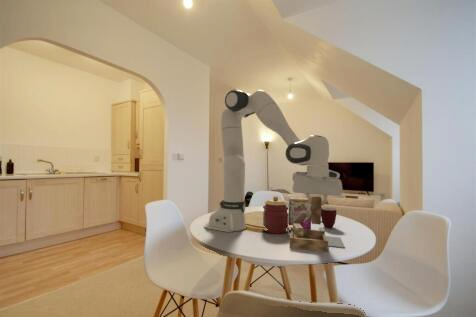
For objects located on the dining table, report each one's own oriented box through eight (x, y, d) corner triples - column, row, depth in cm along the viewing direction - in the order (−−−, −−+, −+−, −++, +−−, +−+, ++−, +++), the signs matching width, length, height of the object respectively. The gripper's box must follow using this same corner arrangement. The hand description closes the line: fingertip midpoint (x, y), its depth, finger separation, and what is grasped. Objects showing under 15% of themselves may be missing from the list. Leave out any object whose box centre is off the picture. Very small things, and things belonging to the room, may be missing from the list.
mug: (320, 229, 119) (321, 210, 119) (313, 225, 127) (313, 207, 127) (339, 229, 120) (339, 210, 121) (331, 225, 128) (331, 207, 129)
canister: (263, 233, 110) (263, 197, 111) (262, 226, 123) (262, 194, 124) (290, 234, 110) (290, 198, 110) (286, 227, 123) (286, 194, 123)
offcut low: (293, 245, 96) (293, 236, 96) (293, 239, 104) (294, 230, 104) (301, 246, 95) (301, 237, 95) (300, 239, 103) (300, 230, 104)
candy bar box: (289, 230, 116) (289, 198, 116) (288, 228, 121) (288, 197, 121) (311, 231, 115) (311, 199, 115) (309, 229, 120) (309, 198, 120)
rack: (289, 247, 93) (289, 237, 93) (291, 236, 107) (291, 227, 108) (327, 251, 89) (328, 241, 89) (324, 239, 103) (324, 230, 103)
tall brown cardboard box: (311, 223, 93) (312, 198, 93) (310, 218, 103) (311, 195, 103) (320, 224, 92) (321, 198, 92) (319, 218, 102) (319, 195, 102)
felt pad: (326, 246, 95) (326, 245, 95) (324, 236, 108) (324, 235, 108) (345, 248, 93) (345, 247, 93) (340, 238, 106) (340, 237, 106)
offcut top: (296, 236, 96) (296, 227, 96) (292, 231, 103) (292, 223, 103) (303, 236, 96) (303, 228, 96) (299, 231, 103) (299, 223, 103)
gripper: (292, 171, 98) (291, 203, 98) (343, 174, 92) (342, 208, 92) (293, 171, 104) (291, 201, 104) (341, 173, 98) (340, 205, 98)
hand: (316, 204), depth 98 cm, fingers closed on tall brown cardboard box, 3 cm apart
